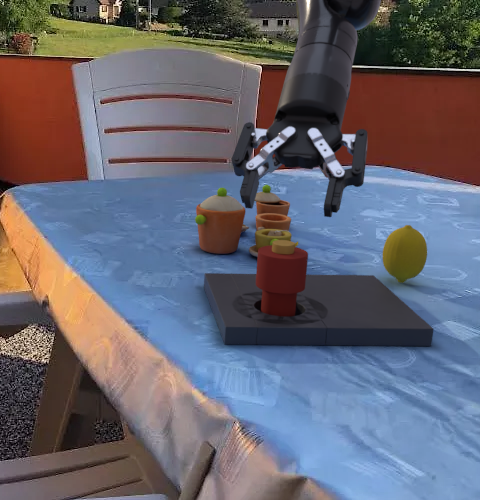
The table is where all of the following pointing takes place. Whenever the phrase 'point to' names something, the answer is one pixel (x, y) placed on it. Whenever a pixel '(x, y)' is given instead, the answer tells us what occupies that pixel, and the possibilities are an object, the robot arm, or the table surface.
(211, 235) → the toy tea set
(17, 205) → the table surface
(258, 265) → the stopper
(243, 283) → the grey board with hole
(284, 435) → the table surface
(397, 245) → the lemon
